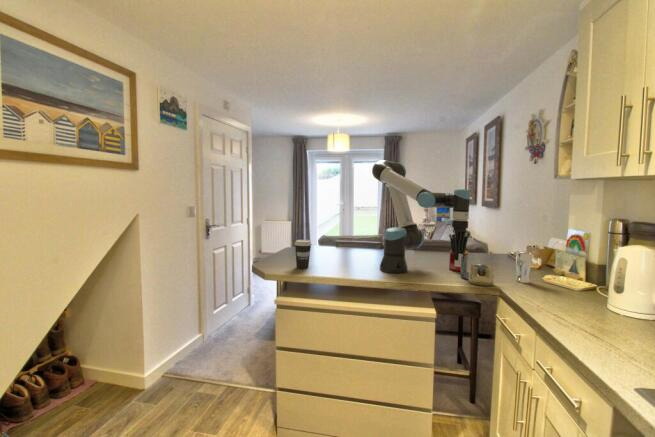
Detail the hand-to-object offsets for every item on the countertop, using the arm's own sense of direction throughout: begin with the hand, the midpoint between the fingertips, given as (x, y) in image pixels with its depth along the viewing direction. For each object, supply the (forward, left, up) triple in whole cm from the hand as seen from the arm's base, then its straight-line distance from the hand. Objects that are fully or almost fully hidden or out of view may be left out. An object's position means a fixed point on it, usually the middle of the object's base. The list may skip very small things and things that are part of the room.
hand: (457, 266), depth 165 cm
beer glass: (+29, +15, -7) cm, 33 cm away
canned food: (-3, +21, -7) cm, 22 cm away
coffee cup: (-77, -26, -7) cm, 81 cm away
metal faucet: (+8, 0, -6) cm, 10 cm away
